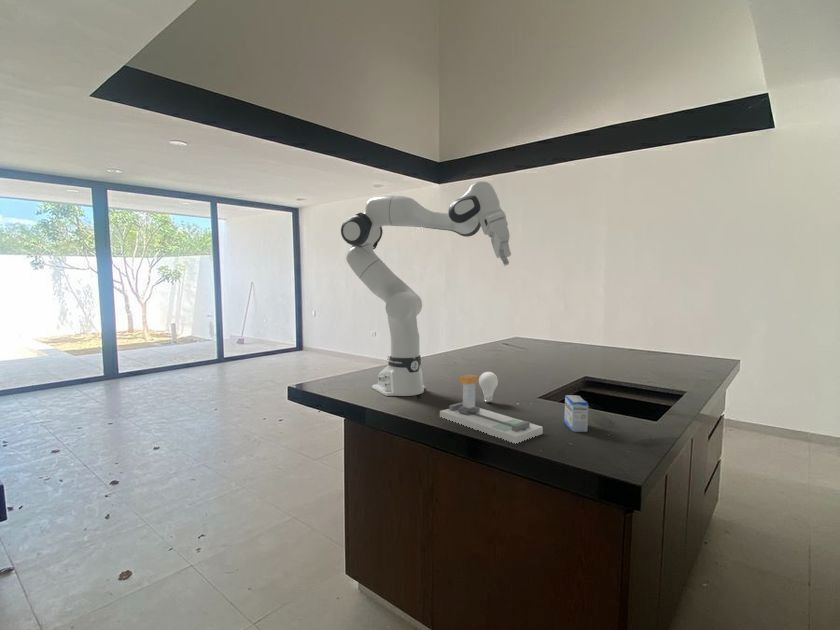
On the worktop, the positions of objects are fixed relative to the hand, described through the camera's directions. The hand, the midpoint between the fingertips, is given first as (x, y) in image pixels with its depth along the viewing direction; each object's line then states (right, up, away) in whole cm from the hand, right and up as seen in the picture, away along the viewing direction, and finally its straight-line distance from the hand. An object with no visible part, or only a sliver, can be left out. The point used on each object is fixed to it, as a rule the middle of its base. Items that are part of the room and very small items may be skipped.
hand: (507, 260), depth 150 cm
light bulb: (-6, -50, +5) cm, 50 cm away
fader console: (-9, -52, -18) cm, 55 cm away
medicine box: (+16, -52, -21) cm, 58 cm away
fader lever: (-15, -49, -12) cm, 52 cm away
